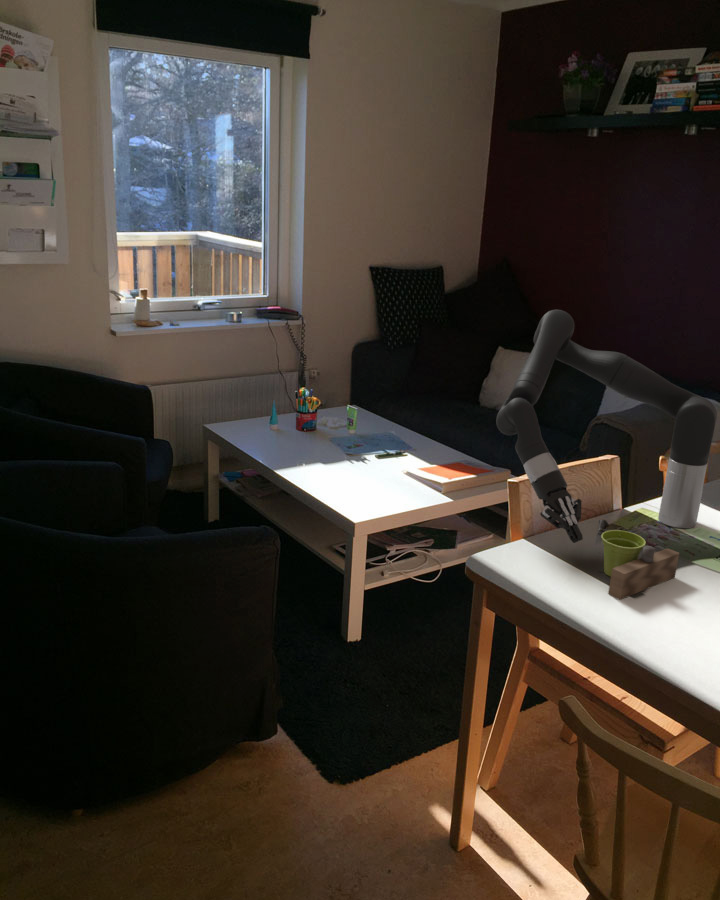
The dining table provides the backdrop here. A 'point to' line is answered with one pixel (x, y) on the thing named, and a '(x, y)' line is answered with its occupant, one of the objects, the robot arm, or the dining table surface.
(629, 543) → the plant pot
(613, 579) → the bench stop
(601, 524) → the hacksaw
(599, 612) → the dining table surface
